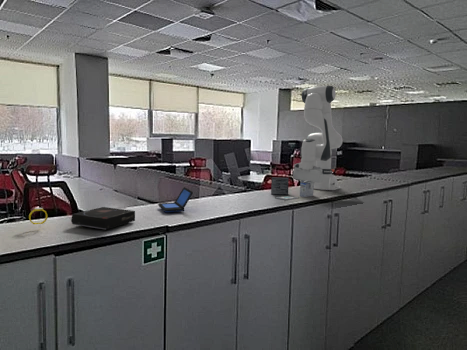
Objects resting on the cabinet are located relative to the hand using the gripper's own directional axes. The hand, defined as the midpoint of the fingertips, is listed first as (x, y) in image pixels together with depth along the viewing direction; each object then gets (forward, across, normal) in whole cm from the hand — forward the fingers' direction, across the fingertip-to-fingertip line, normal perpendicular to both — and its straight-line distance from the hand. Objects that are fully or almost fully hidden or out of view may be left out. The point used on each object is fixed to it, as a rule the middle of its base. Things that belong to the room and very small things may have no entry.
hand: (307, 188), depth 218 cm
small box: (+5, +14, +9) cm, 18 cm away
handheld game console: (+5, +10, +86) cm, 87 cm away
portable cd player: (+4, +2, +123) cm, 123 cm away
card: (+5, +1, +16) cm, 17 cm away
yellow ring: (+4, +10, +145) cm, 145 cm away
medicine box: (+5, 0, 0) cm, 5 cm away
